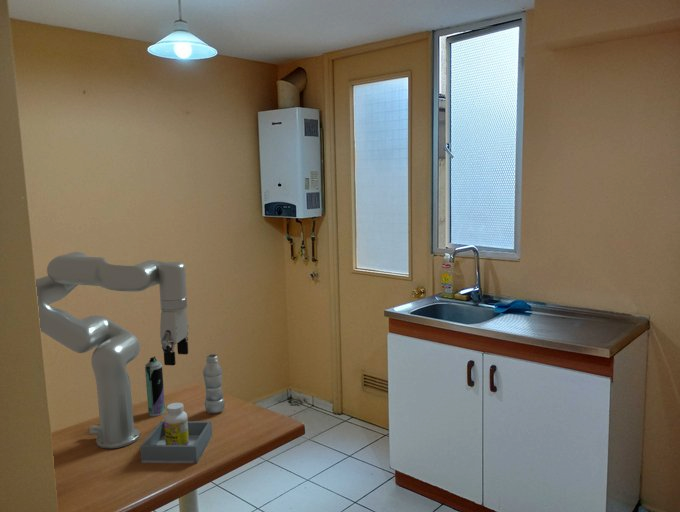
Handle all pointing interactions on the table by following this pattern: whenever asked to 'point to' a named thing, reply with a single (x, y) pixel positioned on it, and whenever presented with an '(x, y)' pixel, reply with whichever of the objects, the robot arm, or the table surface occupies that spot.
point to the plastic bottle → (213, 385)
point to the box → (162, 453)
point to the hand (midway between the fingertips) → (176, 359)
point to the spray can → (155, 387)
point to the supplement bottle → (176, 425)
